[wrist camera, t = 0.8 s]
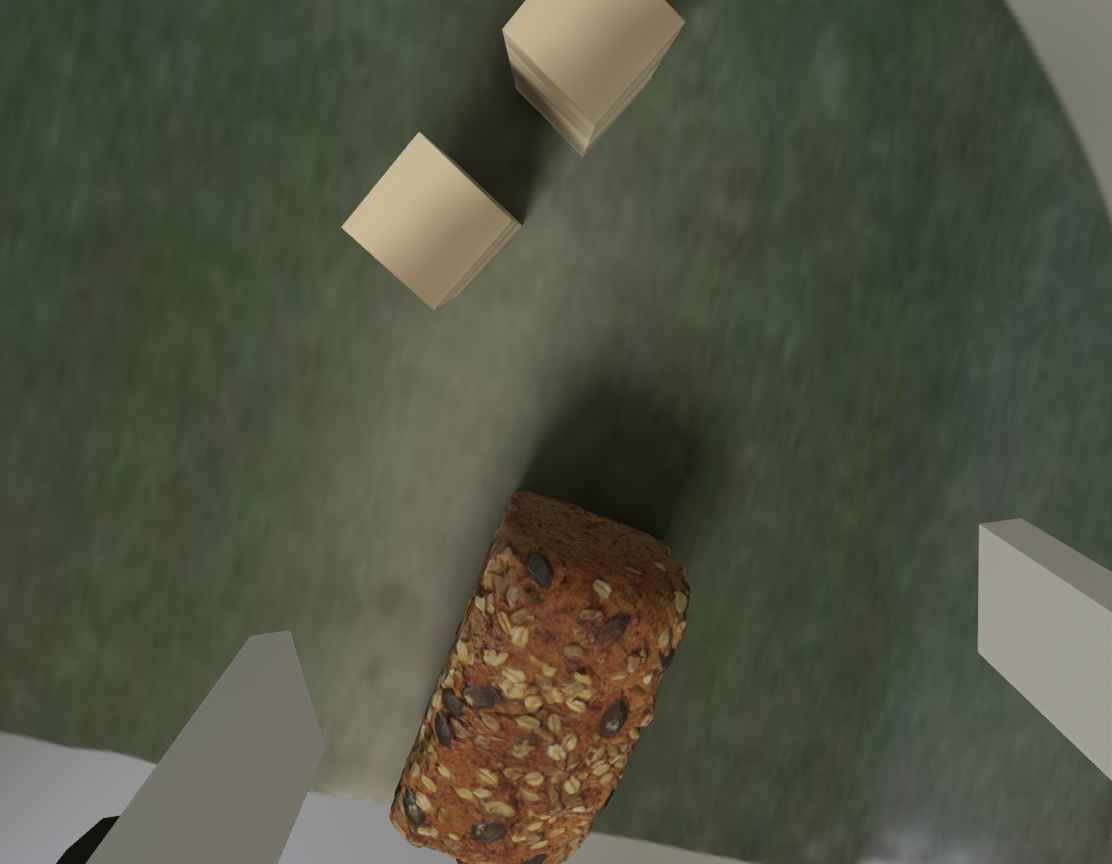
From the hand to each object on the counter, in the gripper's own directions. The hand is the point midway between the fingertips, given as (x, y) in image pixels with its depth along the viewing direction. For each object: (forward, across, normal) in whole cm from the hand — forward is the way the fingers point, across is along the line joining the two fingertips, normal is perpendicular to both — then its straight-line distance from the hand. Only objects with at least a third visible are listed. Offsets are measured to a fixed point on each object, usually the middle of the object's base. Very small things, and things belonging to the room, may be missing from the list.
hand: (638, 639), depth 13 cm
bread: (+26, -5, -16) cm, 30 cm away
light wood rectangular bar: (+25, +2, +14) cm, 29 cm away
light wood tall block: (+26, -5, +9) cm, 27 cm away
